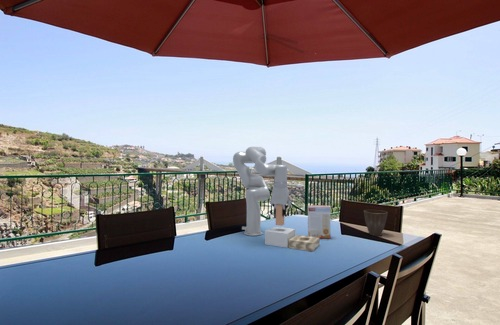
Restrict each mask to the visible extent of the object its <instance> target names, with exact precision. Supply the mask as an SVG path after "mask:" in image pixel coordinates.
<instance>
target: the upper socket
mask: <svg viewBox="0 0 500 325" xmlns="http://www.w3.org/2000/svg"><path fill="white" fill-rule="evenodd" d="M294 236H296V229H295V228H289V227H282V226H280V227H279V226H273V227H271V228H268V229H266V230H264V244H265V245H267V246H272V247H273V246H274V247H281V248H285V249H286V248H288V249H289V240H290V239H291V238H293V237H294Z"/></svg>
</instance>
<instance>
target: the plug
mask: <svg viewBox="0 0 500 325" xmlns="http://www.w3.org/2000/svg"><path fill="white" fill-rule="evenodd" d="M282 210H283V205H281V204H278V205H276V215H275V225H276V226H280V227H282V226H284V225H285V216H282Z"/></svg>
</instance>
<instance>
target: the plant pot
mask: <svg viewBox="0 0 500 325" xmlns="http://www.w3.org/2000/svg"><path fill="white" fill-rule="evenodd" d="M363 214H364V215H363V216H364V221H365V226H366V229H367V232H368V234H369V235H370V236H375V237H380V236H382V234H383V231H384V230H385V226H386V223H387V219H388V211H385V210H379V209H378V210H377V209H364V210H363Z"/></svg>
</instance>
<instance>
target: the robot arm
mask: <svg viewBox="0 0 500 325" xmlns="http://www.w3.org/2000/svg"><path fill="white" fill-rule="evenodd" d="M266 162H267V151H266V149H265V148H264V147H263V146H250V147H247V148H246V150H245V151H237V152H235V153H234V154H233V157H232V163H233V166H234V168H235V170H236V172H237V173H238V175H239V179H240V181H241V183H242V185H243V187H244V188H245V189H246V190H245V193H244V196H245V201H246V226H241V230H242V231H243V230H244V232H243V233H244V235H246V236H251V237H257V236H261V235H263V234H264V233H263V231H262V230H261V205H260V204H259V202H263V201H265V202H266V201H268V200H269V199H270V195H271V199H270V201H269V204H270V205H271V206H272V207H273V209H274V215H275V216H276V205H278V204H281V205H283V210H282V216H284V217H285V216H286V215H287V209H288V208H290V207H291V206H292V205H293V204H292V203H291V201H290V193H289V192H290V191H289V188H288V183H287V182H288V167H287V165H285V164H275V163H274V164H271V163H270V164H267V163H266ZM246 164H254V168H255V171H256V172H257V173H258V174H253V173H252V171H251V170H250V168H249V166H247V165H246ZM264 177H274V182H272V184H271V185H272V186H273V188H272V191H271V194H270V190H269V188H268V185H267V182H266V181H265V179H264Z"/></svg>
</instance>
